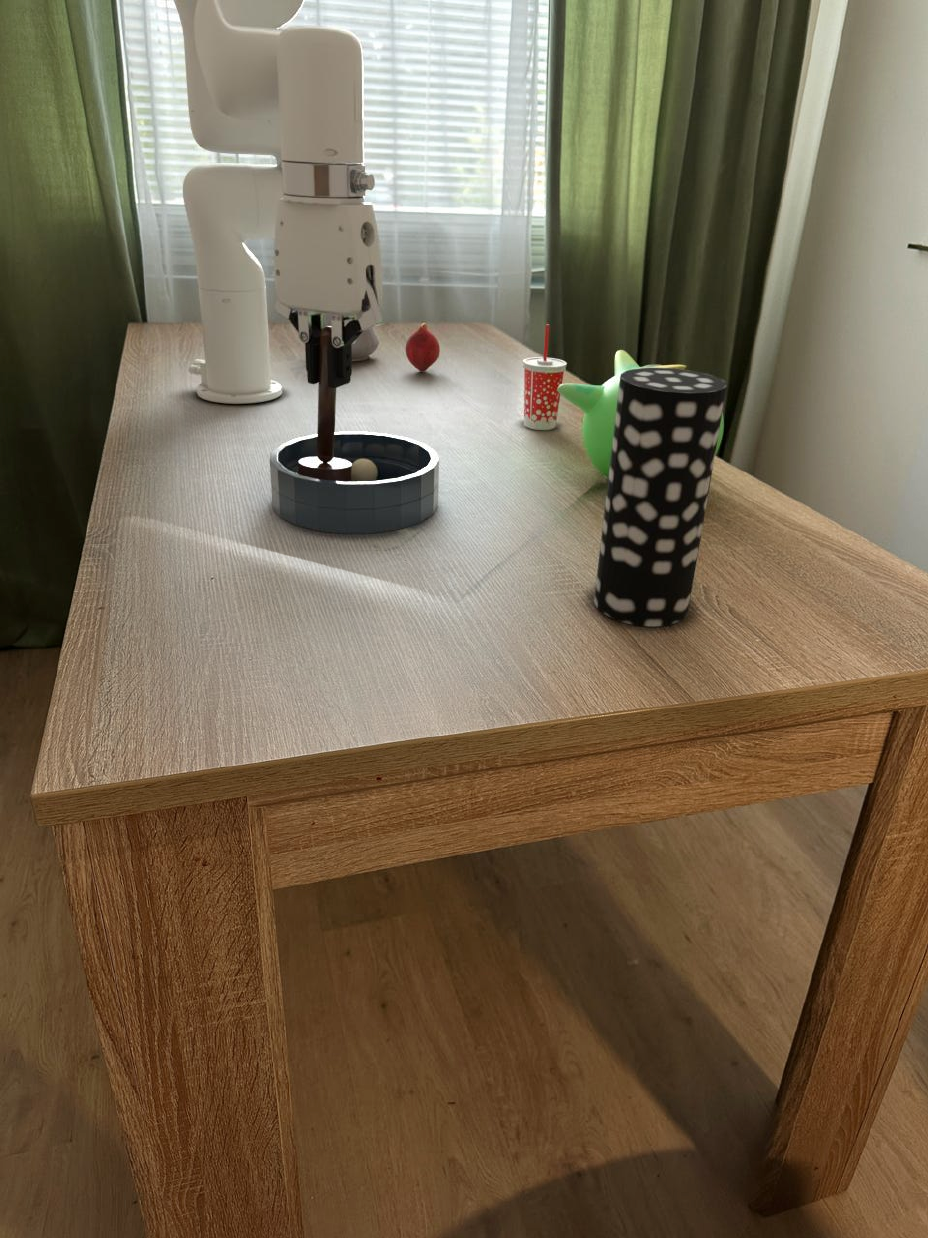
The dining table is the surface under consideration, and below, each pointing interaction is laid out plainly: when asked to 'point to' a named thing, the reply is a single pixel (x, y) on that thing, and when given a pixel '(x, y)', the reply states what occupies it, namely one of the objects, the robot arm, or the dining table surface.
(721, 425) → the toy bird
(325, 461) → the brown rod with base
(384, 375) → the dining table surface
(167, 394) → the dining table surface
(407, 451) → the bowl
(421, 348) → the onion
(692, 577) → the white-spotted black cylinder
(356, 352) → the coffee pot
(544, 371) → the beverage cup
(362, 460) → the cream ball
